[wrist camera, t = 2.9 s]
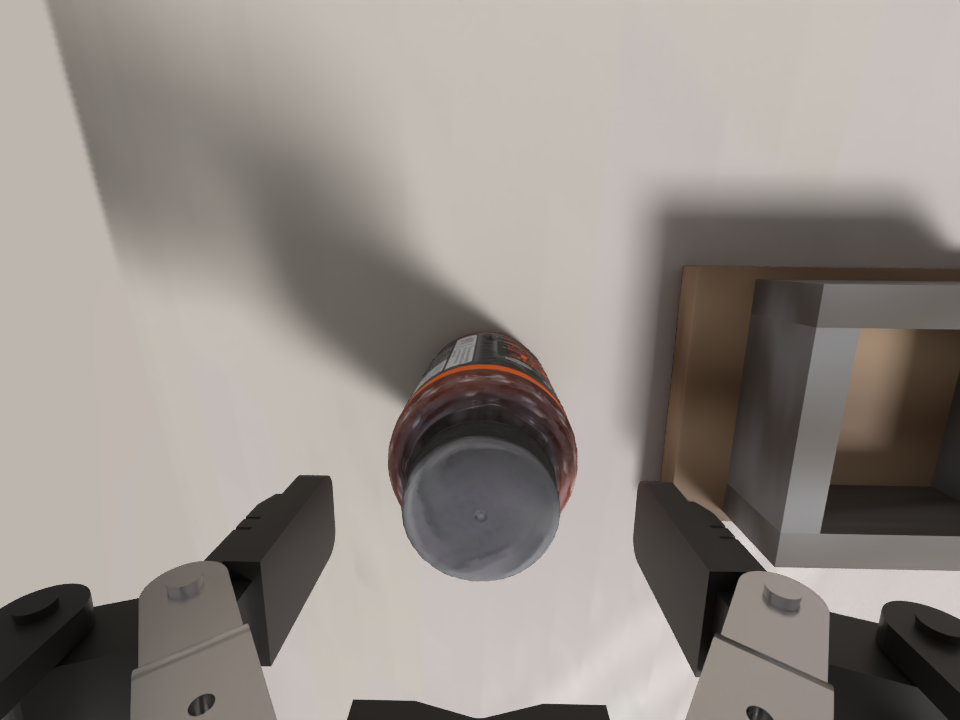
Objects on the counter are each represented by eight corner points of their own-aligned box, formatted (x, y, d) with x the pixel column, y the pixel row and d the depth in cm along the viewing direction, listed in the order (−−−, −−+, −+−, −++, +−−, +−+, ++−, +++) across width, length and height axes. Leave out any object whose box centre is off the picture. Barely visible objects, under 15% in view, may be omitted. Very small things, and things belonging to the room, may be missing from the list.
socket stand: (683, 265, 21) (752, 268, 15) (1038, 269, 20) (1236, 273, 15) (658, 503, 23) (709, 576, 18) (972, 509, 23) (1121, 585, 18)
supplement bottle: (571, 392, 22) (655, 526, 11) (481, 468, 23) (476, 660, 12) (488, 302, 21) (489, 349, 10) (399, 385, 22) (311, 510, 11)
